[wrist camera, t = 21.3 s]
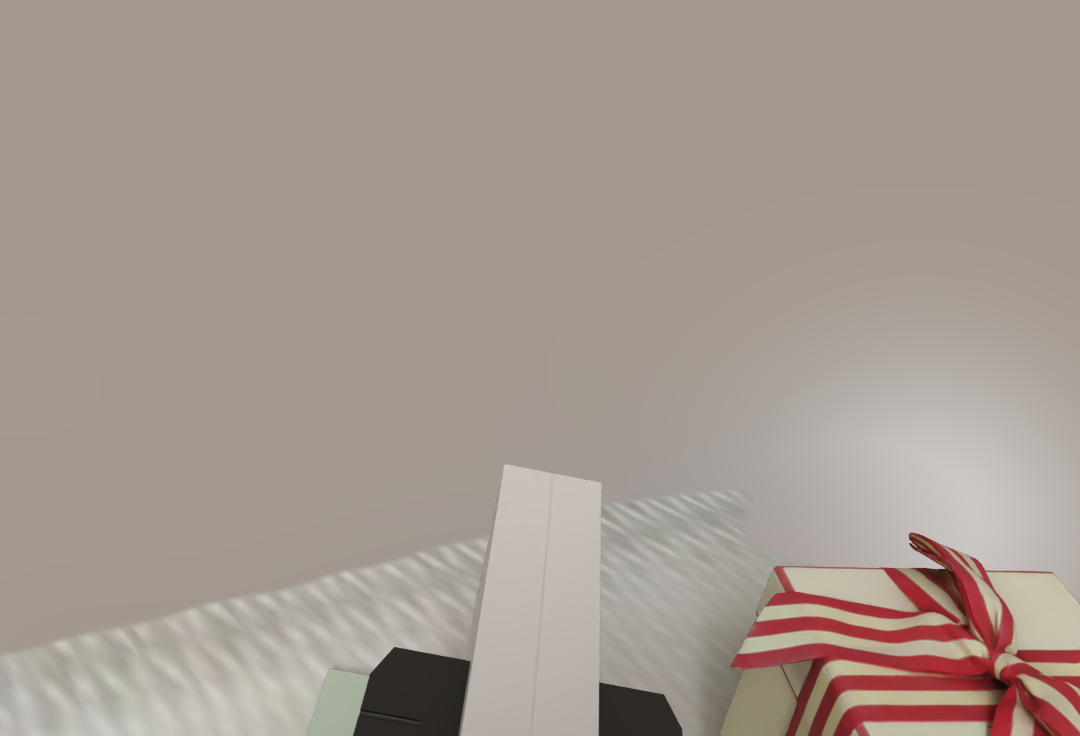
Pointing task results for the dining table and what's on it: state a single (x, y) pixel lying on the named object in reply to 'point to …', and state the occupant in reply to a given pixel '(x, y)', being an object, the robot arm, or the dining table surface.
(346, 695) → the mat
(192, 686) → the dining table surface
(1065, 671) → the gift box
